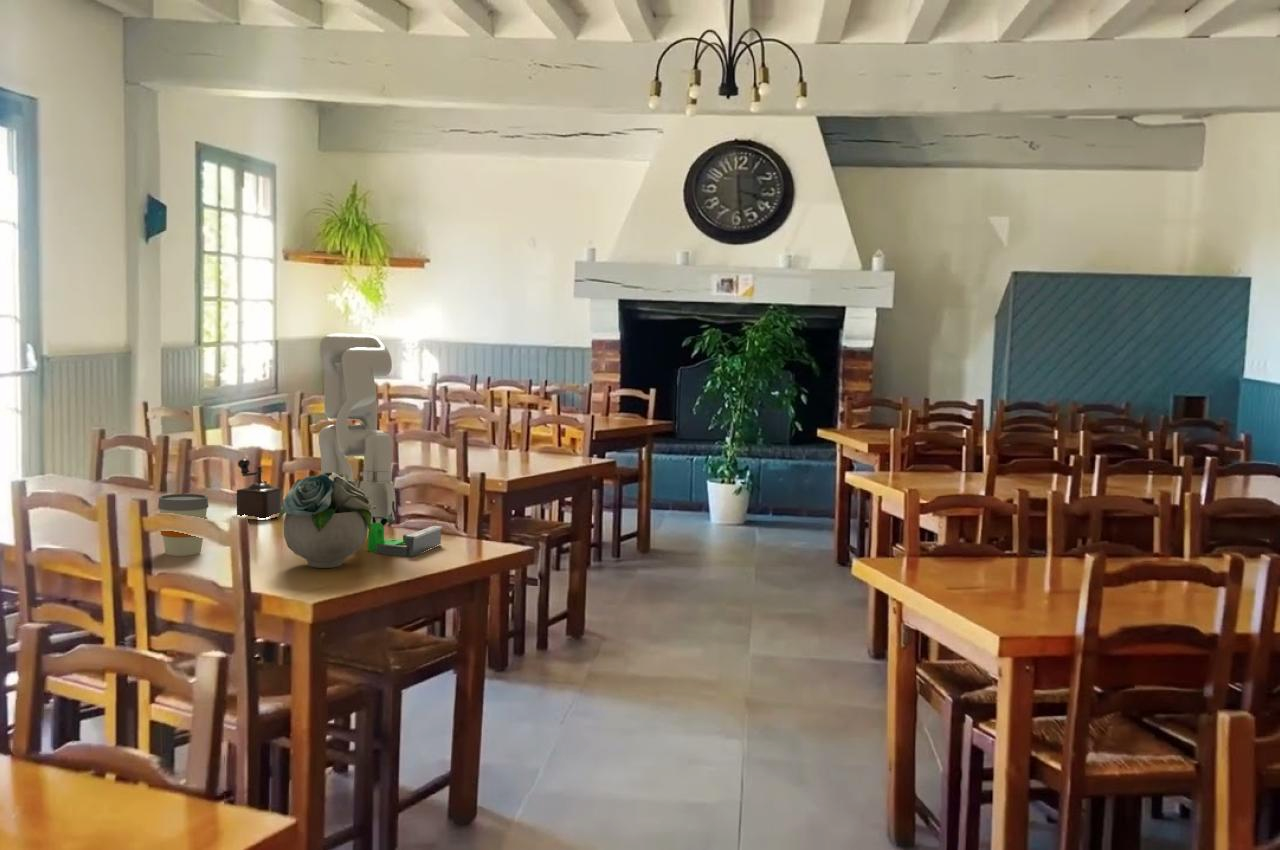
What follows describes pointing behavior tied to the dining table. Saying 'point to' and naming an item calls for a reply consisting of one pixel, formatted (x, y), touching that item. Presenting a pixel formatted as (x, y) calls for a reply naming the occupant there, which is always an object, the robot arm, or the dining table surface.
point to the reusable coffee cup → (185, 506)
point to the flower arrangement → (326, 519)
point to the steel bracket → (414, 542)
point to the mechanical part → (379, 537)
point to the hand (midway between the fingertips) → (376, 540)
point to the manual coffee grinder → (257, 496)
